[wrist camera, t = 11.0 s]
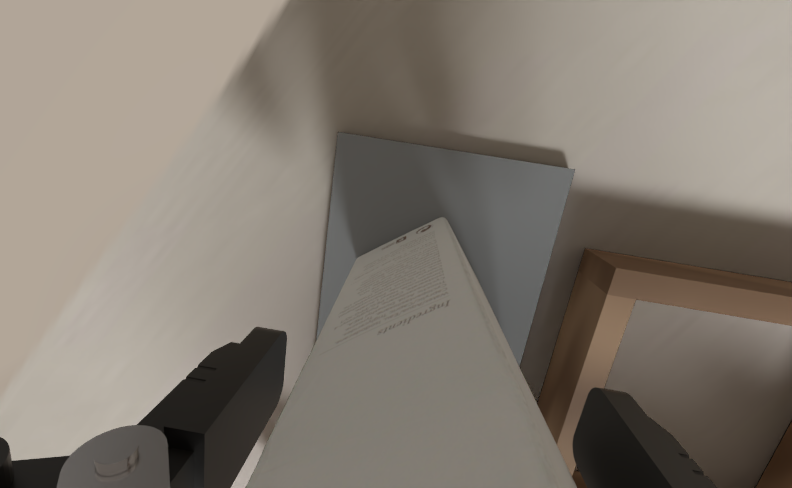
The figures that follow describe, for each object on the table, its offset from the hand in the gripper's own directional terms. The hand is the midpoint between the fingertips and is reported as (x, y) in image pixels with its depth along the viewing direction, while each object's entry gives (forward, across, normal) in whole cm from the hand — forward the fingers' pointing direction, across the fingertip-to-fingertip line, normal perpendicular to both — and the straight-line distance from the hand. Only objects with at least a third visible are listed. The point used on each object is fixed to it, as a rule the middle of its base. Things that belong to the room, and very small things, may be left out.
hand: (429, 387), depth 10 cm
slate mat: (+7, 0, 0) cm, 7 cm away
